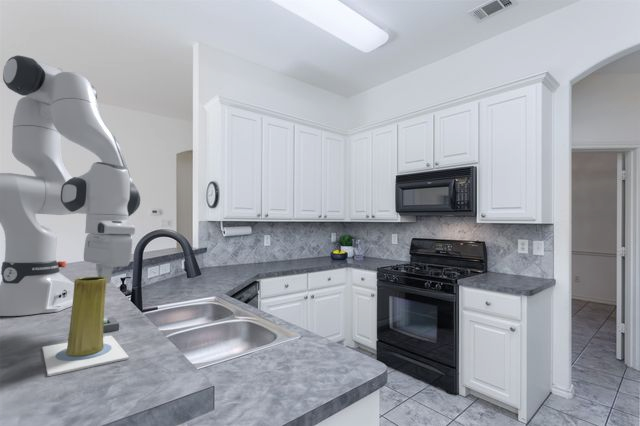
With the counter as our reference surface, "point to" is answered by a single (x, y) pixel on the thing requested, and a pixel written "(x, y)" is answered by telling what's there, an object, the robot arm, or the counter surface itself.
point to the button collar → (111, 325)
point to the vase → (87, 316)
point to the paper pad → (81, 357)
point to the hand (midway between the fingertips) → (103, 282)
